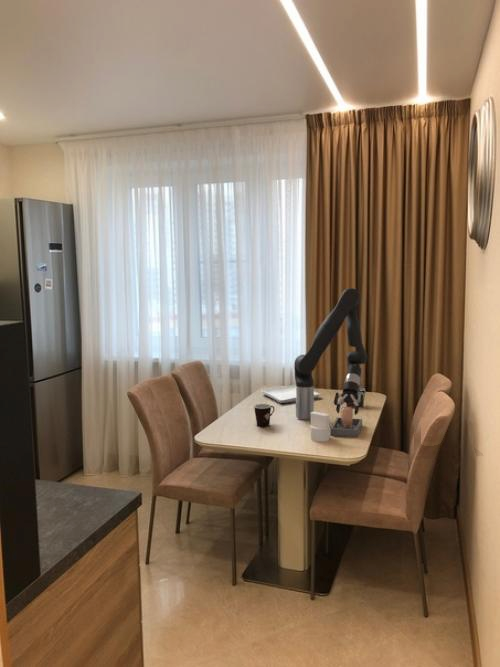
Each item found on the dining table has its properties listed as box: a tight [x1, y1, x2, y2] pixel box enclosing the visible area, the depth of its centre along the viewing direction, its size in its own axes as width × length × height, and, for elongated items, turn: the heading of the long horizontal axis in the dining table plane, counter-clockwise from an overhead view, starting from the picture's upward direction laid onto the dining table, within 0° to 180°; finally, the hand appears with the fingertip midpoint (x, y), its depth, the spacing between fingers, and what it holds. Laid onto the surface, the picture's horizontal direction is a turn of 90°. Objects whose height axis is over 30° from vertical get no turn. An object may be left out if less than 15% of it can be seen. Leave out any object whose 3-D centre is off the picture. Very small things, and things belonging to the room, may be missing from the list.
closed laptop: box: [260, 384, 321, 404], centre depth 333 cm, size 27×27×4 cm
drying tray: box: [330, 416, 363, 438], centre depth 266 cm, size 18×13×5 cm
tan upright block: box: [340, 406, 354, 429], centre depth 266 cm, size 5×5×10 cm
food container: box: [345, 387, 367, 408], centre depth 309 cm, size 12×6×10 cm, turn 84°
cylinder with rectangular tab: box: [309, 411, 331, 443], centre depth 256 cm, size 9×9×12 cm
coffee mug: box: [253, 403, 275, 428], centre depth 279 cm, size 12×9×10 cm
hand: (346, 413), depth 266 cm, fingers open, 8 cm apart
